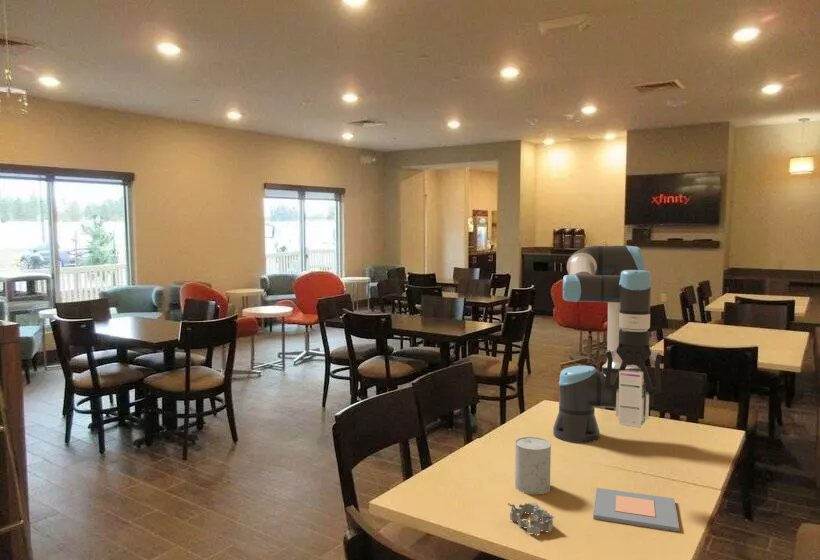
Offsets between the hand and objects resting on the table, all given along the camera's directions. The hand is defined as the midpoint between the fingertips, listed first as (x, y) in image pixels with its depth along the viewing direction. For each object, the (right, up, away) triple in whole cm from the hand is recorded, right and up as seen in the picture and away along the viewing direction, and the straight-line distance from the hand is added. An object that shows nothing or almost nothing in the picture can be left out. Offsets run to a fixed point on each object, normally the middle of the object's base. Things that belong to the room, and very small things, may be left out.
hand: (631, 416), depth 156 cm
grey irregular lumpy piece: (-29, -23, -15) cm, 40 cm away
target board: (-2, -22, -8) cm, 23 cm away
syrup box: (0, -2, 0) cm, 2 cm away
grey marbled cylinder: (-25, -21, +6) cm, 33 cm away
